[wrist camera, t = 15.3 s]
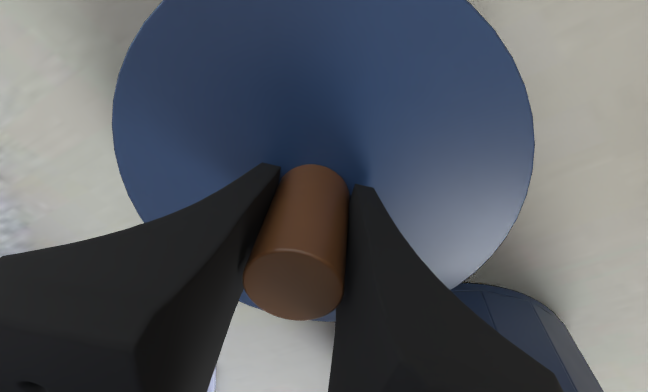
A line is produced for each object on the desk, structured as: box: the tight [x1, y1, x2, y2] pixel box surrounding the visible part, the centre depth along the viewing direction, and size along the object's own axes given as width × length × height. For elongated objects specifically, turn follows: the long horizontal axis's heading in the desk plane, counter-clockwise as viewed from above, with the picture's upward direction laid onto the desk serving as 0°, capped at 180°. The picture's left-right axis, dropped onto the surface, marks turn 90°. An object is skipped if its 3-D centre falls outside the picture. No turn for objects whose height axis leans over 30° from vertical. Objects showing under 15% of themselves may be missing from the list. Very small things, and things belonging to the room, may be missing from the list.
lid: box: [112, 0, 535, 322], centre depth 10 cm, size 13×13×5 cm
